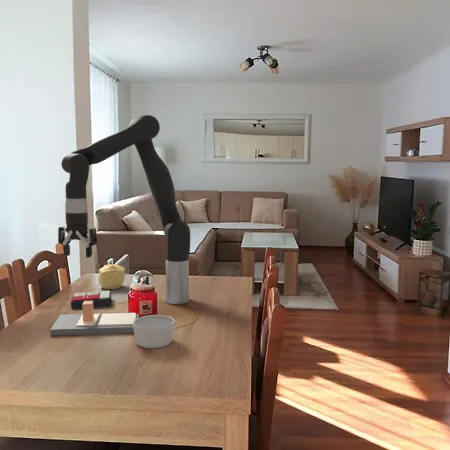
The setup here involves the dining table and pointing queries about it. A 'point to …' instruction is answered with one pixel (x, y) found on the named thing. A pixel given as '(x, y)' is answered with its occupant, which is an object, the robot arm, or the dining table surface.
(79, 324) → the upright wooden block
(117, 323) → the grey rectangular board
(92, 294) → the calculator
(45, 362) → the dining table surface
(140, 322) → the ramekin
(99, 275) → the yellow sugar bowl
